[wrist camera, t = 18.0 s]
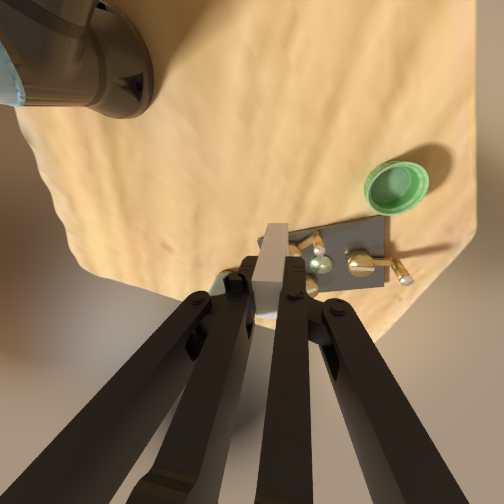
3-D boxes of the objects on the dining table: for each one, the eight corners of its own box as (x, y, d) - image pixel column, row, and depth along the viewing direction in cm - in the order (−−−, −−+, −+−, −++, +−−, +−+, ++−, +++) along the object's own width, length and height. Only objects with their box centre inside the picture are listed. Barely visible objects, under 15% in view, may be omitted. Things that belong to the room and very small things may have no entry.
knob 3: (344, 267, 48) (350, 287, 42) (348, 249, 45) (355, 268, 40) (396, 270, 46) (408, 291, 40) (403, 251, 43) (418, 271, 38)
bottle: (242, 289, 60) (227, 335, 48) (219, 287, 61) (198, 330, 49) (240, 270, 56) (224, 314, 44) (216, 268, 57) (193, 310, 45)
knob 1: (288, 263, 50) (287, 281, 45) (275, 248, 48) (272, 265, 43) (328, 240, 45) (332, 258, 39) (314, 223, 43) (316, 239, 38)
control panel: (276, 293, 58) (276, 298, 57) (258, 238, 50) (256, 242, 48) (382, 283, 50) (385, 288, 48) (382, 214, 41) (385, 219, 40)
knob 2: (311, 271, 50) (312, 291, 45) (321, 285, 52) (323, 305, 46) (275, 287, 55) (272, 306, 50) (285, 299, 57) (284, 319, 51)
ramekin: (404, 208, 40) (414, 218, 36) (354, 204, 41) (359, 213, 38) (426, 158, 35) (441, 163, 31) (369, 155, 36) (377, 160, 33)
